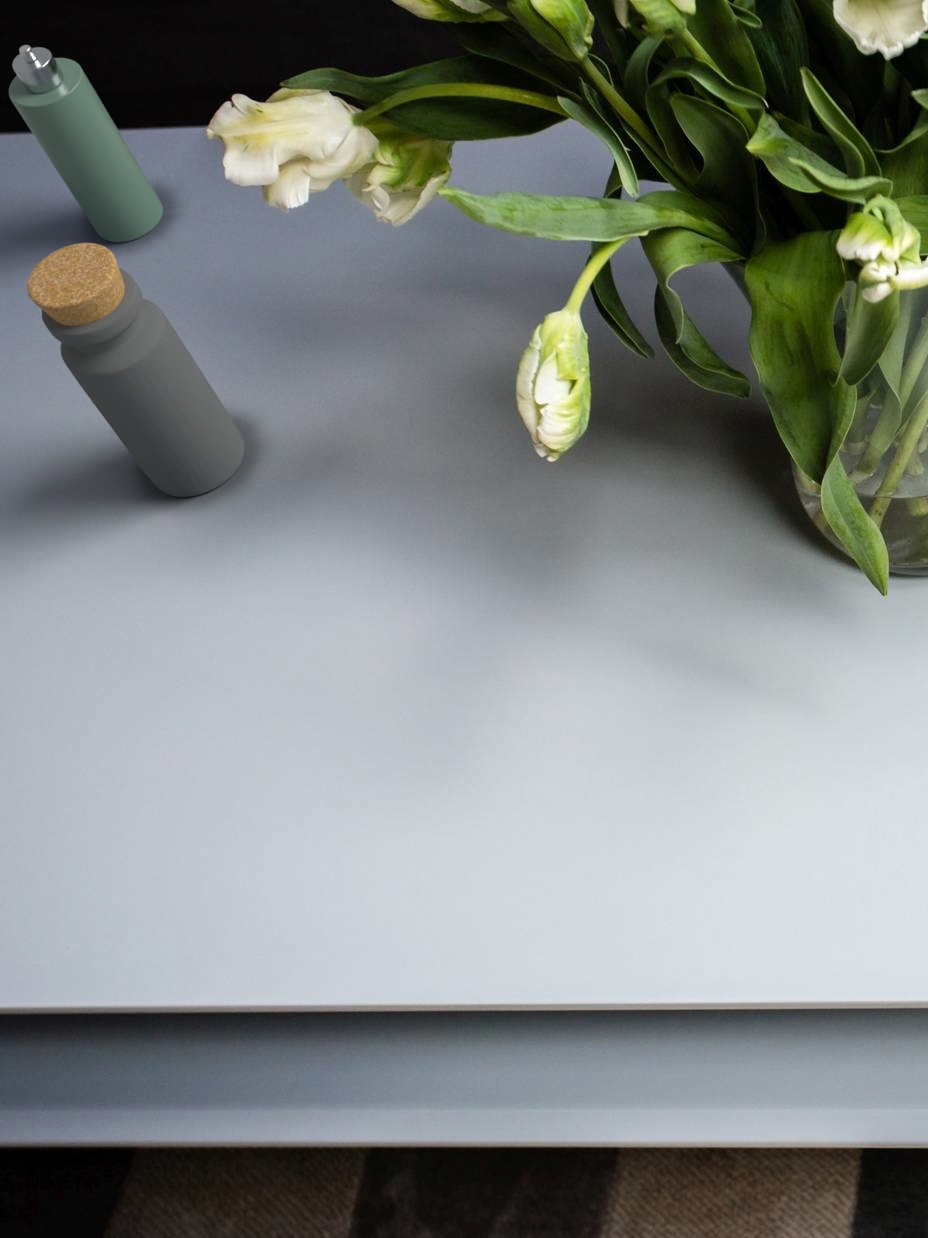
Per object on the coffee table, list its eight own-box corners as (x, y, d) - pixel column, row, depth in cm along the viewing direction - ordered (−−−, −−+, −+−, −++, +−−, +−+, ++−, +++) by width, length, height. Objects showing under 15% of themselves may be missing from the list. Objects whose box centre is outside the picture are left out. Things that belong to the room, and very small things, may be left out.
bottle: (261, 465, 96) (141, 277, 84) (170, 514, 95) (35, 332, 82) (224, 407, 99) (103, 217, 86) (135, 454, 98) (0, 269, 85)
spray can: (83, 237, 109) (-29, 67, 98) (120, 190, 111) (15, 19, 100) (140, 247, 108) (33, 77, 96) (176, 200, 110) (76, 28, 99)
